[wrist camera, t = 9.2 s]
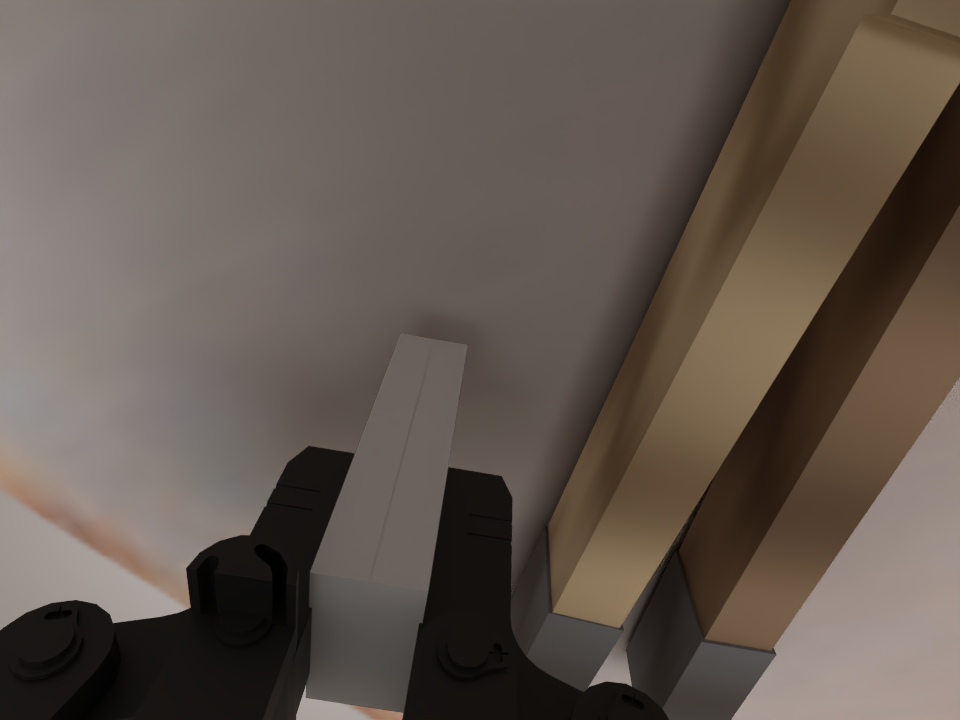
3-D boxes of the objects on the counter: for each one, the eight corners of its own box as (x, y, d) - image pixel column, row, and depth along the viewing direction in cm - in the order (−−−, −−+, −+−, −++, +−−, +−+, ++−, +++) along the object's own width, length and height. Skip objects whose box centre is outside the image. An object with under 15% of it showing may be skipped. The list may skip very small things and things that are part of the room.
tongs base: (981, -319, 9) (1257, -519, 6) (1212, -264, 9) (1617, -428, 6) (578, 641, 21) (589, 763, 17) (682, 659, 21) (713, 784, 17)
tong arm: (882, -213, 10) (1066, -329, 6) (996, -172, 10) (1229, -264, 6) (497, 627, 20) (492, 742, 17) (554, 640, 20) (559, 756, 17)
